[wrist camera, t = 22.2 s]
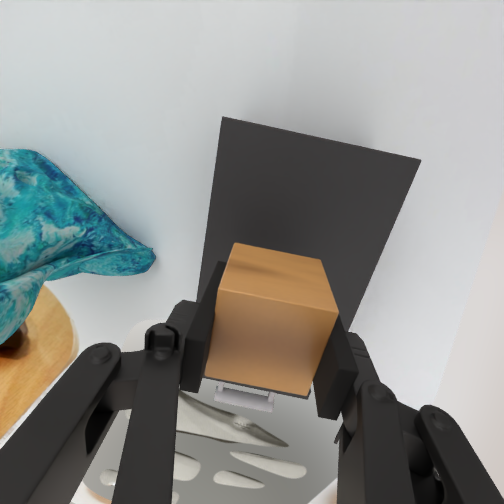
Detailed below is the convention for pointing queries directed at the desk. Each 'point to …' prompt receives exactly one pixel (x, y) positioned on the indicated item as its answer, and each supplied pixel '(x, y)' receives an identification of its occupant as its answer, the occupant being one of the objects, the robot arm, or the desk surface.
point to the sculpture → (52, 235)
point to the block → (271, 320)
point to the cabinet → (305, 203)
